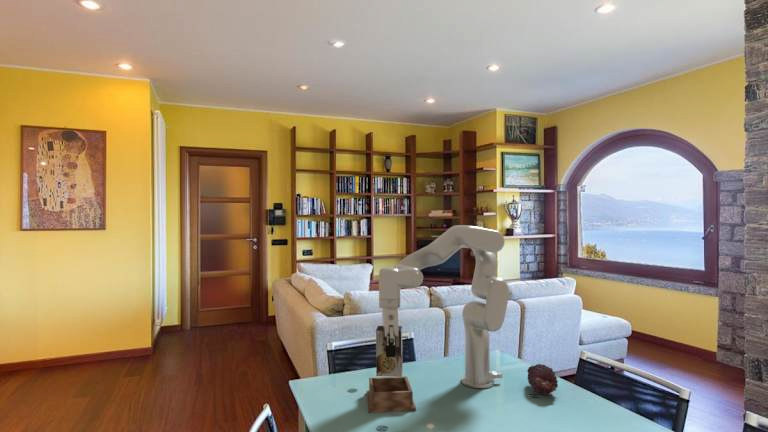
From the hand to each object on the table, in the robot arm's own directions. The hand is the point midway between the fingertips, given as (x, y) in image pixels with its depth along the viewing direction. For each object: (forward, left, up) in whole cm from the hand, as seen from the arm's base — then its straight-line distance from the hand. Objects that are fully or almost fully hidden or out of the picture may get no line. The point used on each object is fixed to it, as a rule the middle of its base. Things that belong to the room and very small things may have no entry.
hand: (389, 352), depth 149 cm
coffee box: (0, 0, -7) cm, 7 cm away
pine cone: (-57, -3, -17) cm, 60 cm away
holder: (0, 0, -17) cm, 17 cm away
